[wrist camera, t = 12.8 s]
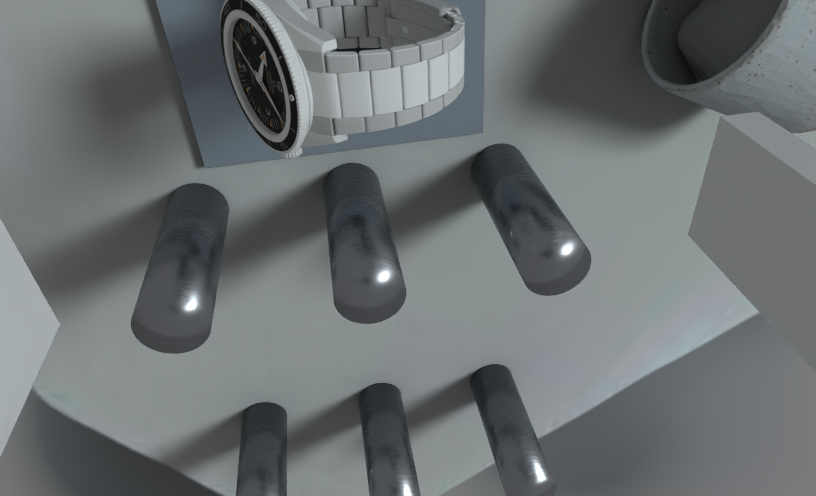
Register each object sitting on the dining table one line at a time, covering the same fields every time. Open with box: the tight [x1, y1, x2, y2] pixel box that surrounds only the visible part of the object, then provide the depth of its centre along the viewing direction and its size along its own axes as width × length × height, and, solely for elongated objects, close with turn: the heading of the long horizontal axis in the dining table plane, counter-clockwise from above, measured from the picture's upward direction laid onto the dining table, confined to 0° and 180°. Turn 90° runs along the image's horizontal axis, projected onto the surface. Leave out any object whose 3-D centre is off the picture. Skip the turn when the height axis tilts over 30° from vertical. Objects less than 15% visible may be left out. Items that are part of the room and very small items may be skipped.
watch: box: [220, 0, 465, 158], centre depth 21 cm, size 6×8×11 cm
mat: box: [156, 0, 485, 168], centre depth 26 cm, size 14×14×1 cm
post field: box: [131, 144, 591, 496], centre depth 33 cm, size 20×19×9 cm
